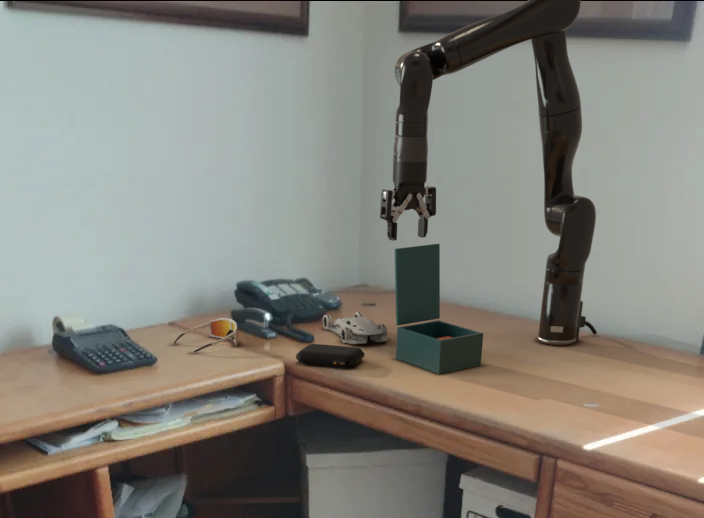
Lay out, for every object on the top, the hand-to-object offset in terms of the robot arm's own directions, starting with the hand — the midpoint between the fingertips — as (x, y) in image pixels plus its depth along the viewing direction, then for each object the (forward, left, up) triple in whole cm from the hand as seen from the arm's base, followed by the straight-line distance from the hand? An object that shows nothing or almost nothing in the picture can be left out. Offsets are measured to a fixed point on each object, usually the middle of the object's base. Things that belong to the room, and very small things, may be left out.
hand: (407, 238), depth 214 cm
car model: (+1, -18, -25) cm, 31 cm away
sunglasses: (+36, -32, -25) cm, 54 cm away
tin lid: (0, +5, -9) cm, 10 cm away
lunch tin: (0, +13, -25) cm, 28 cm away
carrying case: (+21, -1, -25) cm, 33 cm away
